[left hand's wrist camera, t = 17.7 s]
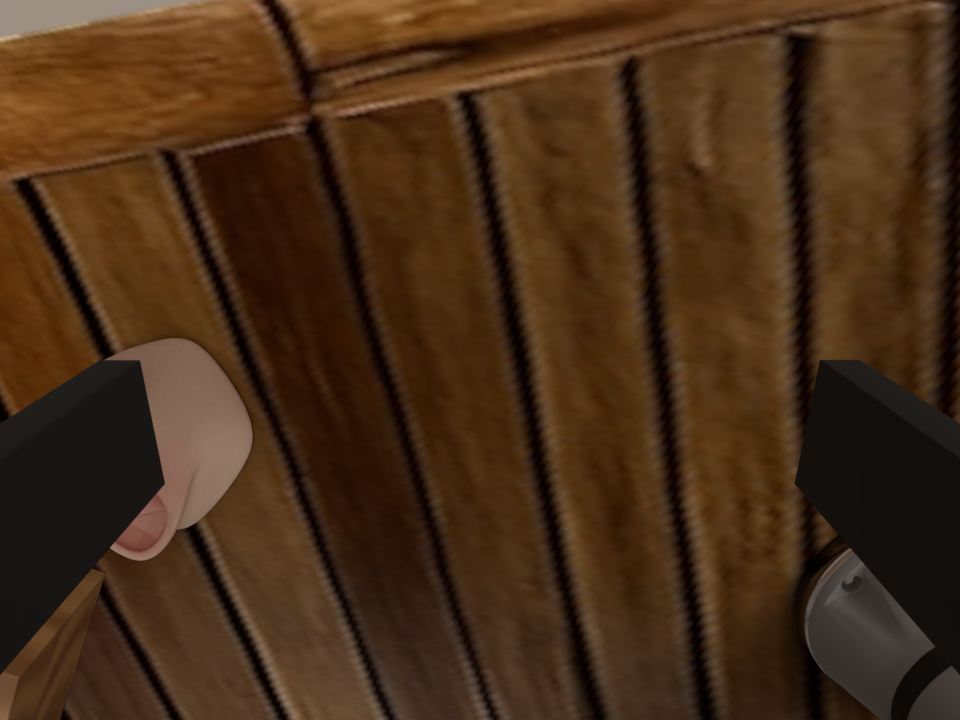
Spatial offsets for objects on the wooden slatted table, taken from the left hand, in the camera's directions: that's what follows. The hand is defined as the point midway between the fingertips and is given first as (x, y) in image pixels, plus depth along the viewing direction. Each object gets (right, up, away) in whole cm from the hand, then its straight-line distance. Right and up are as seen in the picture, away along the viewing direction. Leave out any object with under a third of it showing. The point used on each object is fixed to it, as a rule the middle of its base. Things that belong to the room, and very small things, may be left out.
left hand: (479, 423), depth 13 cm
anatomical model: (-21, -4, +29) cm, 36 cm away
